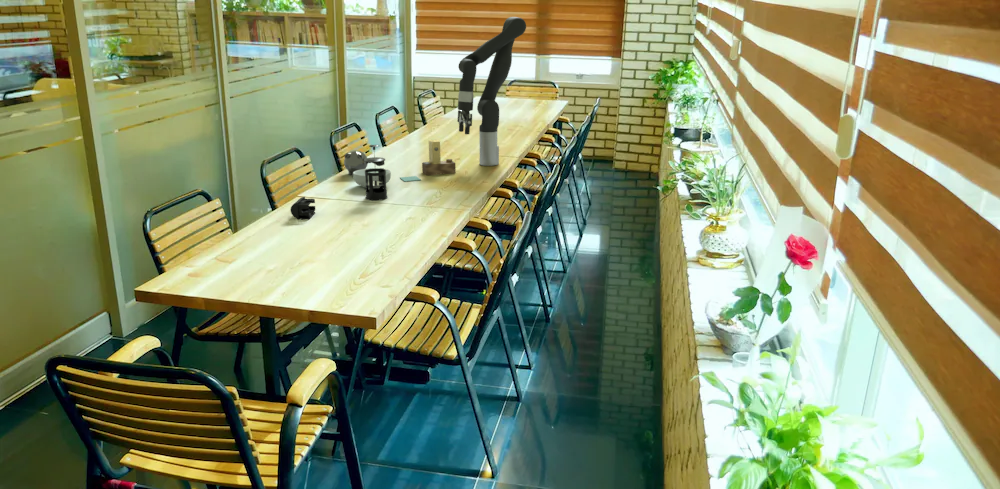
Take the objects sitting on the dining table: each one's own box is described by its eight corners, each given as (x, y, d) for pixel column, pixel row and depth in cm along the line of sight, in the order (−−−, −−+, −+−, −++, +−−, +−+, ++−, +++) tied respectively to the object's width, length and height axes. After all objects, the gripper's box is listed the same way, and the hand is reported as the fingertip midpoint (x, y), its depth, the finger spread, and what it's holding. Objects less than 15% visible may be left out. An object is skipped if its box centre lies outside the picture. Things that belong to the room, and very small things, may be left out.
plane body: (451, 170, 380) (450, 157, 378) (455, 172, 374) (455, 160, 372) (422, 172, 374) (422, 160, 372) (426, 175, 369) (426, 162, 367)
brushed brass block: (436, 161, 375) (436, 139, 372) (440, 164, 370) (440, 141, 366) (429, 162, 374) (428, 140, 370) (433, 164, 368) (432, 142, 365)
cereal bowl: (397, 184, 352) (396, 169, 350) (380, 192, 337) (379, 177, 335) (364, 181, 358) (364, 166, 355) (346, 189, 343) (346, 174, 340)
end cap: (298, 212, 306) (297, 196, 304) (316, 213, 306) (314, 196, 304) (291, 219, 297) (289, 203, 295) (309, 220, 297) (307, 203, 294)
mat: (415, 176, 366) (415, 176, 366) (421, 180, 359) (420, 179, 359) (399, 178, 363) (399, 177, 363) (404, 181, 356) (404, 181, 356)
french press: (380, 201, 322) (377, 148, 315) (360, 199, 325) (357, 146, 318) (393, 195, 333) (390, 143, 325) (373, 193, 336) (371, 141, 328)
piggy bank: (341, 177, 364) (339, 153, 361) (348, 170, 378) (347, 147, 375) (364, 177, 364) (363, 154, 360) (371, 171, 378) (369, 148, 374)
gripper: (477, 102, 373) (476, 135, 378) (467, 98, 386) (466, 130, 391) (463, 102, 371) (461, 135, 375) (453, 98, 383) (452, 130, 388)
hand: (464, 132), depth 383 cm, fingers open, 8 cm apart
